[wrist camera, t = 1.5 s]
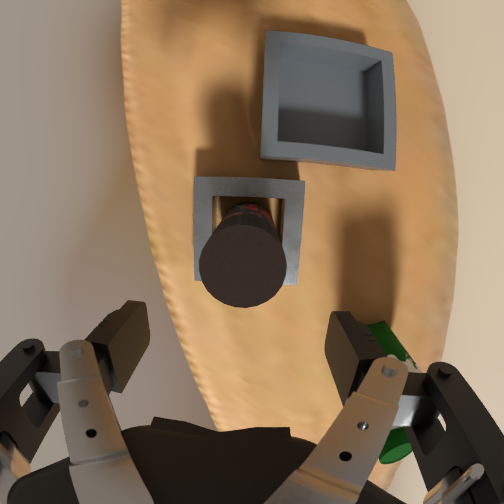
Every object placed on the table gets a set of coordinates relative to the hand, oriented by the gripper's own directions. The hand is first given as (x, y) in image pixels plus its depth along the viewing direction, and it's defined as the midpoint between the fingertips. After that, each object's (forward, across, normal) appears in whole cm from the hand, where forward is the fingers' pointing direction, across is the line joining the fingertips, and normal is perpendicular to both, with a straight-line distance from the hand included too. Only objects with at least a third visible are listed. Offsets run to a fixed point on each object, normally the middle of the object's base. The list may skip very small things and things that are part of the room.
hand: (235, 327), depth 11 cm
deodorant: (+23, 0, 0) cm, 23 cm away
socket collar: (+22, 0, 0) cm, 23 cm away
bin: (+22, -8, -15) cm, 28 cm away
